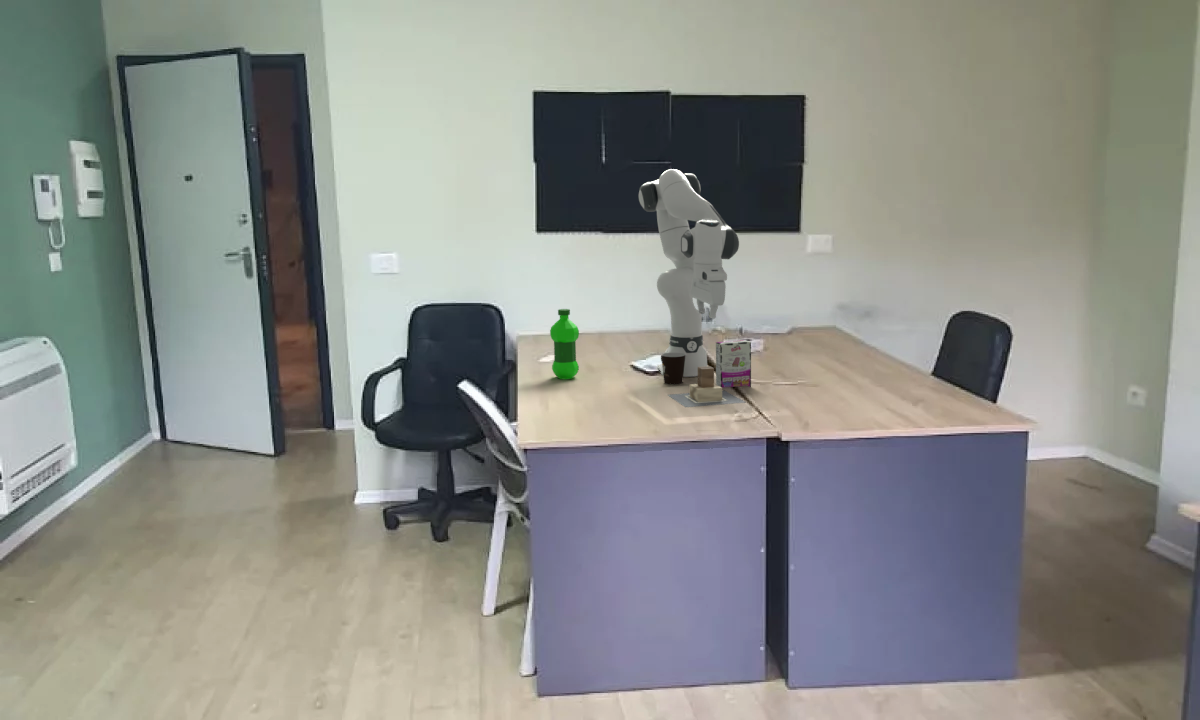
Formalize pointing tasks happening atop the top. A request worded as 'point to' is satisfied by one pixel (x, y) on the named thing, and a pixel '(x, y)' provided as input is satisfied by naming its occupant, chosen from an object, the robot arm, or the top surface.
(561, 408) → the top surface
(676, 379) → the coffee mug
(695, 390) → the maple base block
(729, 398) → the board
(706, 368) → the walnut block
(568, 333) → the plastic bottle
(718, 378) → the candy bar box
